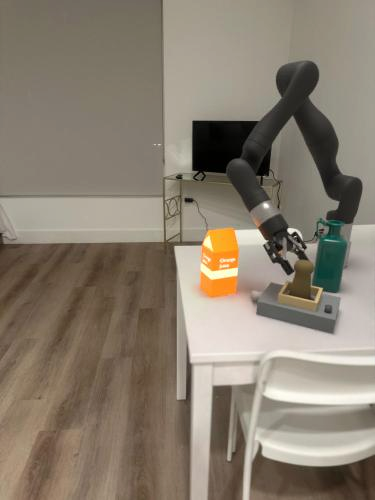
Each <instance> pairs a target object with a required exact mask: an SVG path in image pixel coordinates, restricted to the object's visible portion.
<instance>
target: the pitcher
mask: <svg viewBox="0 0 375 500" xmlns="http://www.w3.org/2000/svg"><path fill="white" fill-rule="evenodd" d="M319 224H321V225H322V226H323V227H325V226H327V227H329V229H328V233H324V232H323V233H320V231H319ZM344 225H345V223H343V222H341V221H335V220H330V221H327V222H325V219H323V218H322V217H317V218H316V236H317V238H318V239H317V244H316V250H315V251H316V252H315V256H314V263H313V265H314V271H313V273H312V274H311V286H315V287H320V288H323V290H322V292H329V293H337V292H339V291H340V290H341V284H342V278H343V273H344V269H345V268H344V264H345V258H346V253H347V248H348V243H347V239H346V237H345V236H343V235H341V234H340V233H341V227H342V226H344Z"/></svg>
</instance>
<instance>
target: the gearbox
mask: <svg viewBox="0 0 375 500" xmlns="http://www.w3.org/2000/svg"><path fill="white" fill-rule="evenodd" d="M292 282H293V281H290V280H286V281H285V283H284V284H280V283H275V282H272V281H271V282H270V283H269V284H268V285H267V287H266V288H265V289H264V292H262V291H258V290H254V289H253V290H252V291H251V293H250V300H254V301H257V302H256V303H257V304H256V310H255V313H256V315H259V316H261V317H266V318H269V319H273V320H277V321H282V322H285V323H288V324H289V323H290V324H293V325H295V326H296V325H297V326H300V327H305V328H310V329H312V330H315V331H320V332H324V333H328V334H331V335H333V334H334V330H335V326H336V321H337V318H338V312H339V308H340V303H341V299H342V298H341V297H340V296H337V295H331V294H327V293H323V291H322V290H323V288H320V287H315V286H312V285H311V300H307V299H303V298H298V297H294V296H289V292H290V288H291V285H292Z"/></svg>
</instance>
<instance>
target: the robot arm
mask: <svg viewBox="0 0 375 500" xmlns="http://www.w3.org/2000/svg"><path fill="white" fill-rule="evenodd" d="M319 81H320V69H319V67H318V65H317V64H316V62H314V61H312V60H309V59H308V60H299V61H293V62H288V63H285V64H284V65H281V66H280V67H279V69H278V70H277V71H276V74H275V85H276V89H277V92H278V93H279V95H280V97H281V98H280V99H279V101H278V102H277V103H276V104H275V105H274V106H273V107H272V108H271V109H270V110H269V111H268V112H267V113H265V115H264V116H263V117H262V118H261V119H260V120H259V121H258V122H257V123H256V124H255V126H254V127H253V129H252V130H251V132H250V134H249V135H248V137H247V139H246V140H245V141H244V144H243V146H242V153H241V156H240V157H238V158H233V159H232V160H230V161H229V163H228V164H226V170H225V173H226V174H225V175H226V177H227V179H228V180H229V183H230V184H231V185H232V187H233V188H234V189H235V190H236V193H238V194H239V196H240V199H241V201H242V202H243V204H244V206H245V208H246V209H247V211H248V213H249V215H250V217H251V219H252V221H253V223H254V224H255V226H256V227H257V229H258V231H259V232H260V234H261V235H262V236H261V237H263V239H264V240H265V241H266V242H265V243H263V244H262V247H263V248H264V250H265V252H266V254H267V255H268V258H269V259H270V261H271V263H272V264H274V265H275V264H278V265H280V267H281V268H282V270H283V271H284V273H285V274H286V276H291V275H292V274H295V270H294V267H293V266H292V265H291V263H290V261H289V260H288V259H287V253H288V252H289V253H291V254H292V253H293V254H294V255H295V256H297V258H298V260H307V261H310V259H309V258H308V256H307V254H306V253H305V252H306V250H307V249H308V246H307V245H306V243H305V242H304V240H303V239H302V237H301V236H300V235H299V234H298V231H293V232H292V233H290V232H289V231H288V229H289V227H290V226H289V224H288V223H287V221H286V219H285V217H284V216H283V215H282V213H281V212H280V210H279V208H278V207H277V206H276V205H275V204H276V203H274V202H273V201H272V199H271V197H270V196H269V194H268V192H267V191H266V190H265V188H264V187H263V186H262V185H261V183H260V182H259V179H258V178H257V176H256V175H257V173H258V171H259V168H260V166H261V164H262V161H263V160H264V158H265V156H266V155H267V153H268V151H269V150H270V148H271V147H272V146H273V143H274V142H275V141H276V139H277V137H278V136H279V134H280V133H281V131H282V130H283V128H284V127H285V126H286V124H288V122H289V120H290V119H291V118H292V117H293V120H294V121H295V123H296V125H297V128H298V130H299V131H300V133H301V136H302V138H303V140H304V143H305V145H306V147H307V149H308V151H309V153H310V155H311V157H312V159H313V163H314V164H315V166H316V168H317V170H318V173H319V176H320V179H321V182H322V186H323V188H324V192H325V195H326V196H327V197H328V198H329V199H330V200H333V201H336V202H338V206H337V208H336V209H331V210H329V211H327V212H326V215H325V219H324V221H325V222H327V221H330V220H335V221H341V222H343V223H345V225H344V226H342V227H341V233H340V234H341V235H343V236H345V237H346V239H347V243H348V248H347V253H346V258H345V264H344V269H345V268H346V267H348V262H349V257H350V253H351V247H352V242H351V238H352V237H351V236H352V230H353V224H354V221H355V217H356V216H357V214H358V211H359V207H360V203H361V199H362V195H363V190H364V189H363V181H362V180H361V179H360V178H359V177H357V176H353V175H348V174H343V173H342V172H341V170H340V168H339V166H338V164H337V163H338V162H337V155H338V152H339V147H340V146H339V145H340V143H339V142H340V141H339V138H338V136H337V133H336V130H335V128H334V125H333V124H332V122H331V121H330V120H329V118H328V117H327V116H326V115H325V114H324V113H323V112H322V111H321V110H320V109H319V108H318V107H317V106H316V105H315V104H314V103H313V102H312V100H311V98H310V95H311V94H312V93H313V92H314V91H315V89H316V87H317V86H318V83H319ZM323 227H324V228H323V233H328V229H329V227H327V226H323ZM310 262H311V261H310Z"/></svg>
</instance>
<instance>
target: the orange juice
mask: <svg viewBox="0 0 375 500" xmlns="http://www.w3.org/2000/svg"><path fill="white" fill-rule="evenodd" d="M239 253H240V248H239V244H238V240H237V236H236V231H235V228H234V227H229V228H221V229H220V228H219V229H210V230H209V229H208V230H207V233H206V235H205V238H204V240H203V242H202V244H201V254H200V255H201V256H200V257H201V258H200V281H199V282H200V284H199V287H200V289H201V290H202V291H203V292H204V293H205V294H206V295H207V296H208V297H209V298H210V299H212V298H217V297H221V296H222V297H223V296H228V295H232V294H233V295H234V294H236V293H237V284H238V283H237V282H238V272H239V271H238V269H239V268H238V267H239V257H240V254H239Z"/></svg>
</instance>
